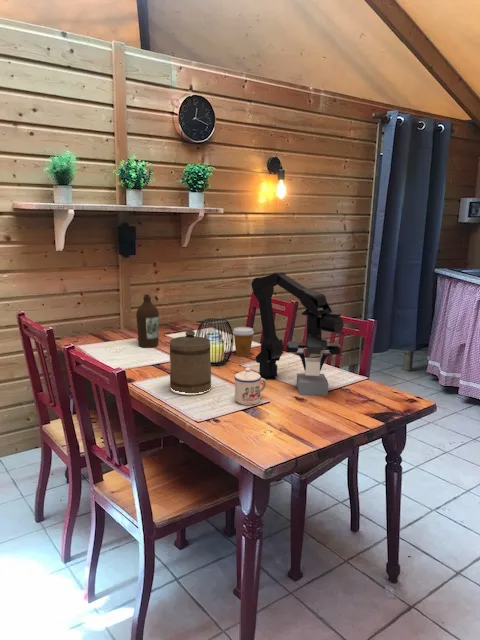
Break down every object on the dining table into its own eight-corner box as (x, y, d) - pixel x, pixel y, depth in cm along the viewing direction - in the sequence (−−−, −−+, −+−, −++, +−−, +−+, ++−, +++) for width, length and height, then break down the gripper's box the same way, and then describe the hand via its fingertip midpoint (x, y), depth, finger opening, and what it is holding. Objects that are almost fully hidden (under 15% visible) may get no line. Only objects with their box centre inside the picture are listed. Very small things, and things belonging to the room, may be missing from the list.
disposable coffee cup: (257, 354, 227) (257, 328, 225) (246, 359, 219) (246, 332, 217) (239, 350, 232) (240, 325, 230) (228, 355, 224) (228, 329, 222)
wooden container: (188, 379, 192) (188, 324, 187) (219, 387, 184) (219, 329, 179) (161, 390, 180) (160, 331, 175) (192, 399, 172) (192, 337, 167)
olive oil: (133, 345, 240) (131, 294, 235) (151, 341, 247) (150, 291, 242) (145, 349, 233) (143, 296, 227) (164, 345, 240) (162, 294, 235)
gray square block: (299, 395, 177) (300, 382, 176) (296, 386, 187) (296, 373, 186) (327, 396, 177) (328, 382, 176) (322, 386, 187) (323, 373, 186)
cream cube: (305, 375, 178) (305, 361, 177) (305, 370, 183) (305, 357, 182) (319, 375, 178) (320, 362, 177) (318, 371, 182) (319, 358, 181)
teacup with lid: (242, 407, 165) (242, 374, 162) (229, 398, 172) (229, 366, 170) (272, 401, 170) (273, 368, 168) (258, 393, 178) (259, 361, 176)
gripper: (287, 333, 170) (285, 376, 173) (342, 335, 168) (340, 379, 171) (288, 325, 181) (286, 366, 184) (340, 327, 179) (337, 369, 182)
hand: (312, 370), depth 180 cm, fingers closed on cream cube, 5 cm apart
